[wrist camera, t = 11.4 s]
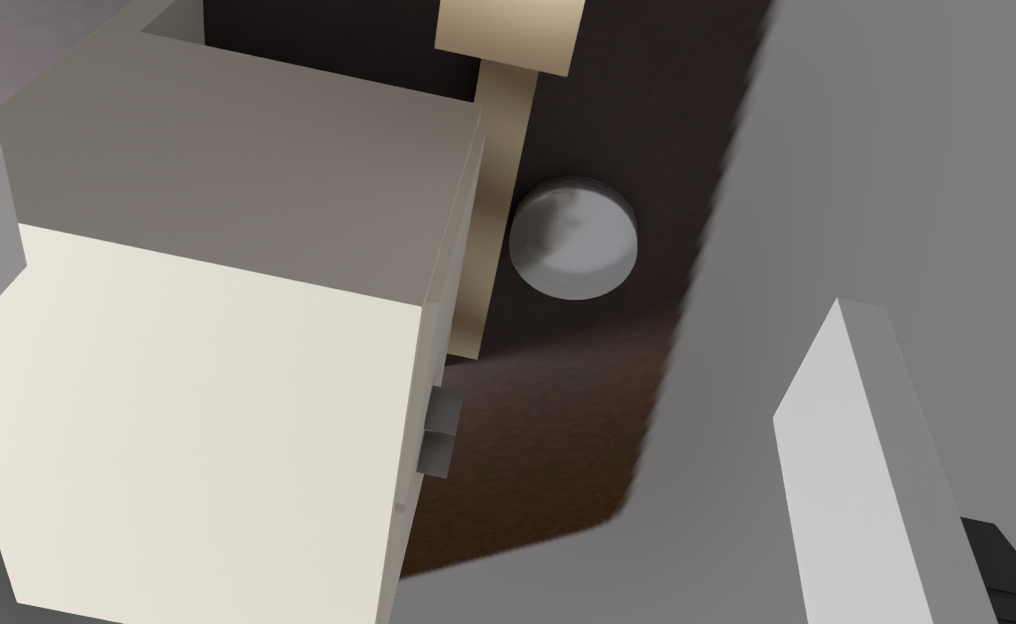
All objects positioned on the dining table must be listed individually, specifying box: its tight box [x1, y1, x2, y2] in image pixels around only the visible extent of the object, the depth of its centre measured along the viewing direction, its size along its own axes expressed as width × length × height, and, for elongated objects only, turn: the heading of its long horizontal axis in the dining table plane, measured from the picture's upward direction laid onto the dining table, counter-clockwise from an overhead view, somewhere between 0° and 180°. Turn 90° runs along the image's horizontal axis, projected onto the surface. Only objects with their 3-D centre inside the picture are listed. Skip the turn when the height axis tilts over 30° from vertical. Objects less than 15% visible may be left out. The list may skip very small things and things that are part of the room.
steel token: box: [509, 176, 637, 300], centre depth 42 cm, size 6×6×2 cm
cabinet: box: [0, 0, 487, 624], centre depth 36 cm, size 19×16×18 cm
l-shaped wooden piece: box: [434, 0, 585, 360], centre depth 36 cm, size 24×4×11 cm, turn 170°
